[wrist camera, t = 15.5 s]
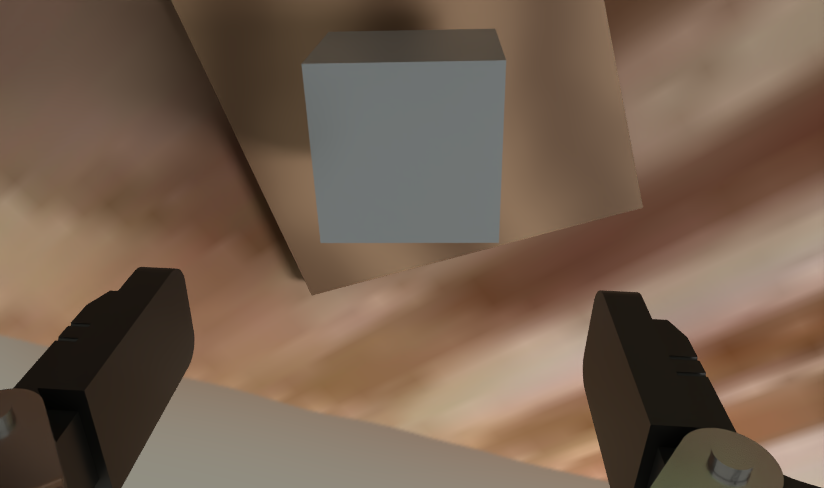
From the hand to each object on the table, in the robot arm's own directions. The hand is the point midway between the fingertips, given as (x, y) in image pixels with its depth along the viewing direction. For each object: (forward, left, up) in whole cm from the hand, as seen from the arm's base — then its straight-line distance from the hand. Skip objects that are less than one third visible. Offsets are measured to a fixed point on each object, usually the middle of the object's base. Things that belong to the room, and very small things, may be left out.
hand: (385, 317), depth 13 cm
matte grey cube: (0, 0, -14) cm, 14 cm away
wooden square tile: (0, 0, -17) cm, 17 cm away
